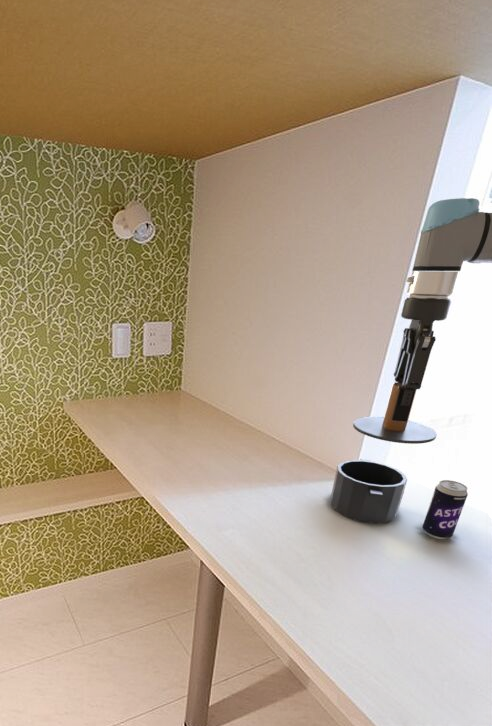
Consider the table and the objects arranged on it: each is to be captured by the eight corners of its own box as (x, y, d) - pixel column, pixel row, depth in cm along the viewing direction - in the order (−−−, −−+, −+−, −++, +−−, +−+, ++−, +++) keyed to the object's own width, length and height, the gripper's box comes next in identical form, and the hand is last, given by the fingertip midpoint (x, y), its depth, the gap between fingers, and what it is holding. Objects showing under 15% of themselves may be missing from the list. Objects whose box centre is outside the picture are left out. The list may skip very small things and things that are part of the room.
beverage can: (423, 537, 94) (440, 488, 89) (419, 524, 99) (434, 477, 94) (454, 543, 92) (473, 493, 87) (448, 530, 97) (465, 481, 92)
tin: (388, 494, 112) (397, 460, 108) (404, 534, 95) (416, 496, 91) (328, 485, 116) (334, 453, 112) (332, 523, 99) (341, 486, 95)
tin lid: (424, 425, 97) (437, 380, 93) (444, 450, 84) (461, 398, 79) (348, 418, 102) (358, 375, 97) (356, 441, 88) (368, 392, 84)
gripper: (397, 294, 90) (371, 404, 100) (417, 299, 75) (384, 428, 85) (438, 294, 88) (407, 407, 98) (467, 300, 73) (427, 432, 83)
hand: (396, 416), depth 91 cm, fingers closed on tin lid, 4 cm apart
